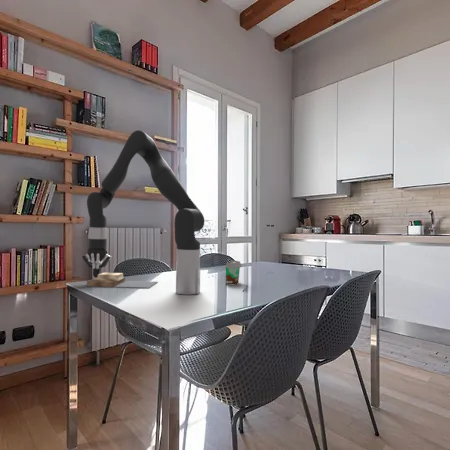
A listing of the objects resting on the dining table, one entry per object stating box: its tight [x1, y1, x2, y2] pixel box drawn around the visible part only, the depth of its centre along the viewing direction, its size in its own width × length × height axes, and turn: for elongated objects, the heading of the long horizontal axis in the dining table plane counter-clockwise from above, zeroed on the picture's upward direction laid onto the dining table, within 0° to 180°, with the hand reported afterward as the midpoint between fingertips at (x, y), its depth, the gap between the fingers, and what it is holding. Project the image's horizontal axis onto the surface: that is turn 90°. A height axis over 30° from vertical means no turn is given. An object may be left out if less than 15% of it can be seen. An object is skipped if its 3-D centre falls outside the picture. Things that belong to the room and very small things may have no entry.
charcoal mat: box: [114, 280, 159, 289], centre depth 144 cm, size 14×14×1 cm
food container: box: [225, 260, 242, 285], centre depth 153 cm, size 12×6×10 cm, turn 168°
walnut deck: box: [86, 277, 126, 288], centre depth 144 cm, size 12×12×2 cm
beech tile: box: [97, 272, 124, 281], centre depth 144 cm, size 9×6×2 cm, turn 88°
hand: (96, 277), depth 144 cm, fingers closed
